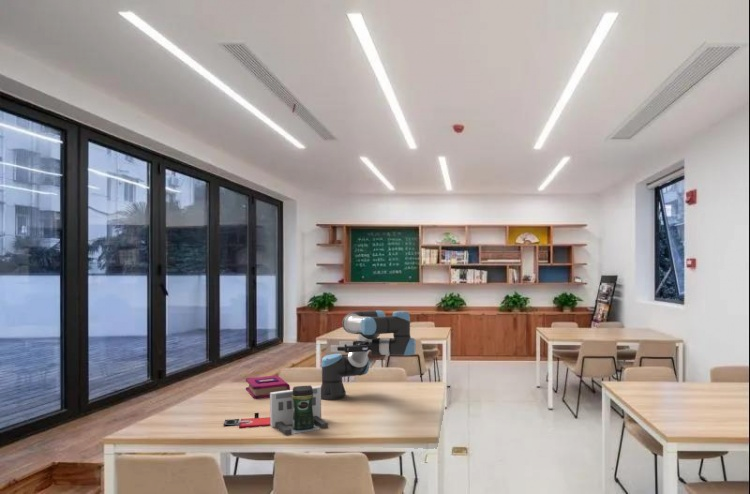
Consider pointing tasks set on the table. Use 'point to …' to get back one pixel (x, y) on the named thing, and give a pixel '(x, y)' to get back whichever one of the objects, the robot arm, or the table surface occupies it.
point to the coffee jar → (302, 407)
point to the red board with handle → (249, 422)
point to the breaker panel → (290, 406)
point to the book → (265, 386)
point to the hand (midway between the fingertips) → (335, 346)
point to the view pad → (303, 430)
